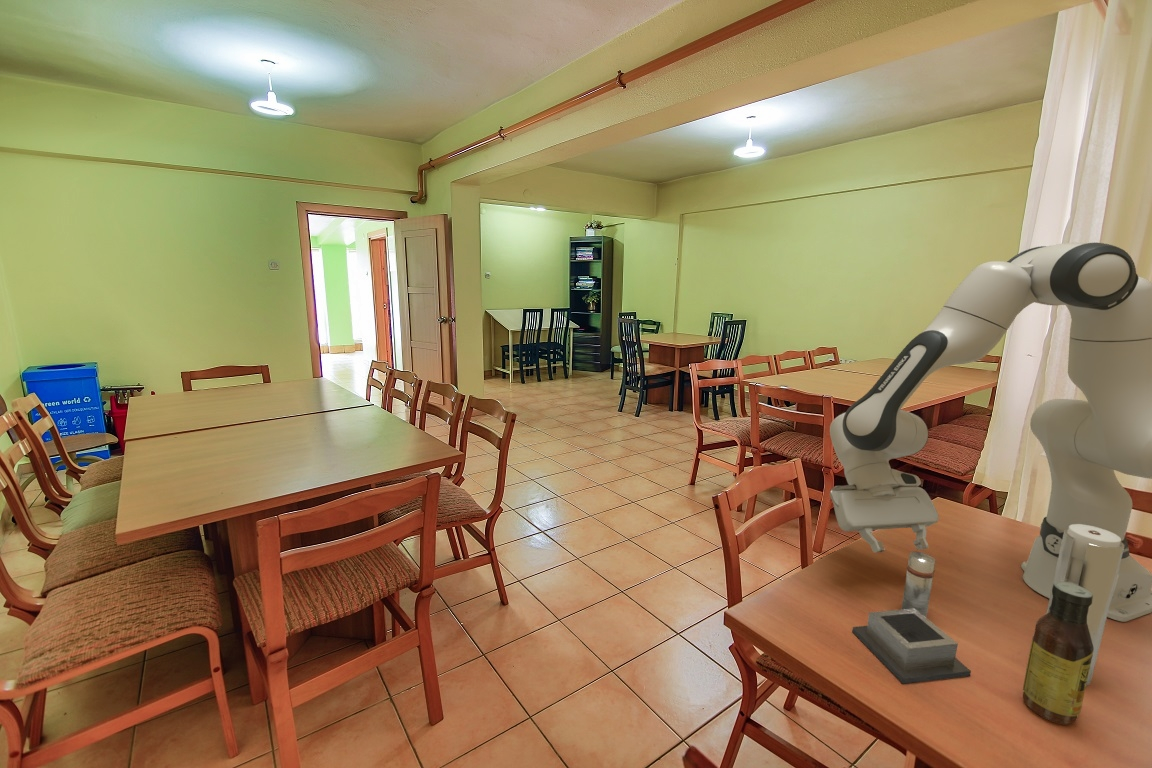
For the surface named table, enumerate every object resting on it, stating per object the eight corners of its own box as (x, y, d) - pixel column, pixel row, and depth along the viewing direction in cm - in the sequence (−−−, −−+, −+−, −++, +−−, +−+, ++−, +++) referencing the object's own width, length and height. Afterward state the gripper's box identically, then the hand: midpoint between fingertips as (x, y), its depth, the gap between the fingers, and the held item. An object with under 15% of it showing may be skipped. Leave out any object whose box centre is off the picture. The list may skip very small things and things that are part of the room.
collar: (911, 625, 92) (915, 602, 91) (970, 676, 80) (975, 649, 79) (852, 631, 90) (855, 607, 89) (902, 684, 78) (906, 656, 77)
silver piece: (1102, 689, 77) (1139, 544, 72) (1053, 683, 78) (1086, 540, 73) (1070, 659, 83) (1102, 523, 78) (1026, 653, 85) (1054, 519, 80)
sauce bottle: (1083, 735, 70) (1114, 611, 65) (1025, 715, 73) (1051, 595, 69) (1069, 702, 75) (1097, 585, 71) (1016, 684, 78) (1039, 572, 74)
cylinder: (914, 605, 97) (923, 550, 95) (932, 620, 93) (941, 562, 91) (895, 607, 97) (903, 552, 94) (912, 622, 93) (921, 564, 90)
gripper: (835, 480, 101) (861, 549, 93) (925, 476, 103) (959, 542, 96) (819, 491, 106) (843, 557, 99) (906, 487, 109) (936, 551, 101)
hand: (901, 550), depth 97 cm, fingers open, 8 cm apart
